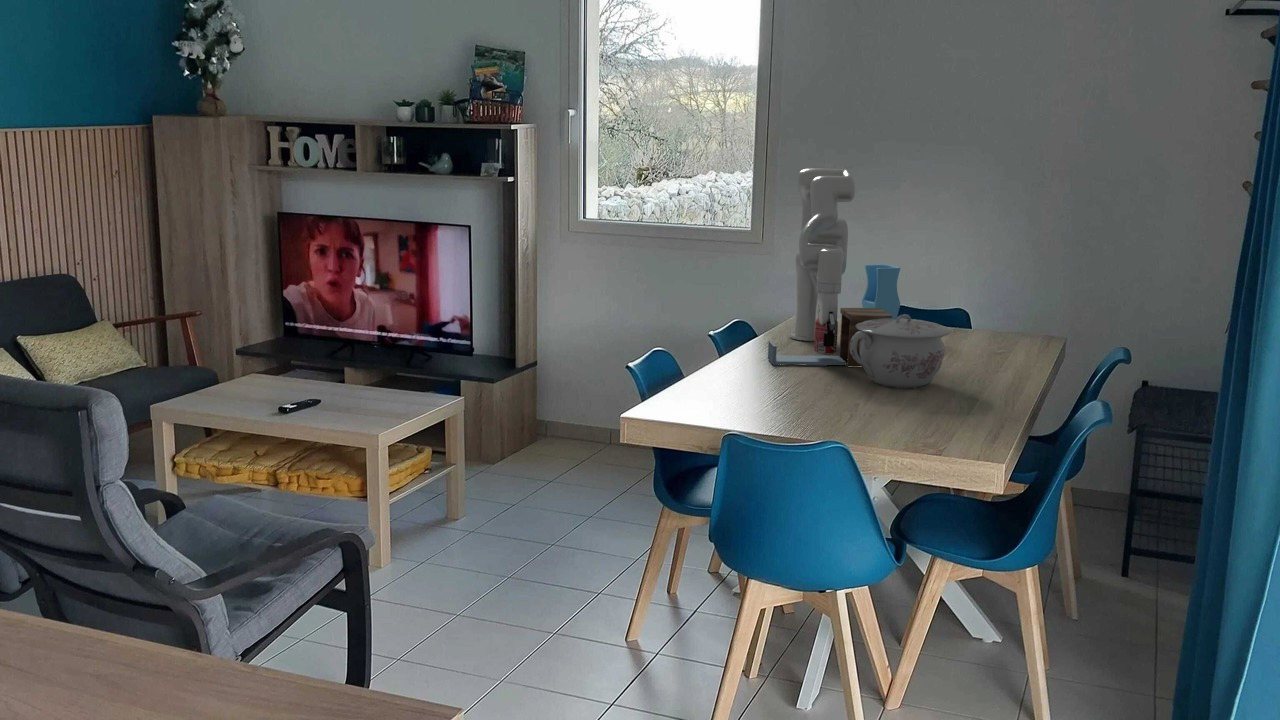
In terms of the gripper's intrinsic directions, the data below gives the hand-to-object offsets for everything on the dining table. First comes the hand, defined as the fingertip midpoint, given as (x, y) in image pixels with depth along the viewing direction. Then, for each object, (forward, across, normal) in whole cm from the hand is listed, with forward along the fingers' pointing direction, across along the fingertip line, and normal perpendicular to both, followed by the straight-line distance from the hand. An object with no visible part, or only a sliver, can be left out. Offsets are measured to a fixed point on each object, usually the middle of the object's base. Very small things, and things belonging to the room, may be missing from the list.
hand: (825, 343), depth 362 cm
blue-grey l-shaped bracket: (+6, 0, -6) cm, 9 cm away
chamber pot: (+7, +27, +16) cm, 32 cm away
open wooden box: (+6, 0, +12) cm, 14 cm away
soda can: (+3, 0, 0) cm, 3 cm away
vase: (+7, -47, +30) cm, 56 cm away
